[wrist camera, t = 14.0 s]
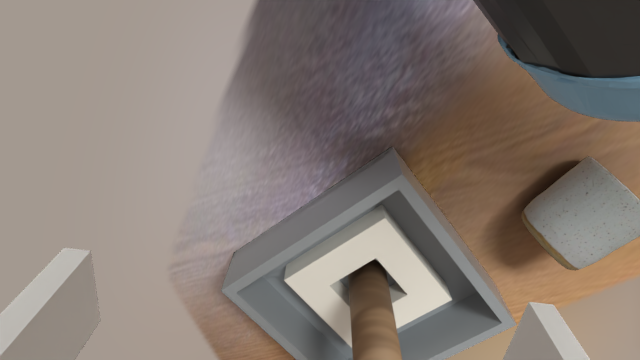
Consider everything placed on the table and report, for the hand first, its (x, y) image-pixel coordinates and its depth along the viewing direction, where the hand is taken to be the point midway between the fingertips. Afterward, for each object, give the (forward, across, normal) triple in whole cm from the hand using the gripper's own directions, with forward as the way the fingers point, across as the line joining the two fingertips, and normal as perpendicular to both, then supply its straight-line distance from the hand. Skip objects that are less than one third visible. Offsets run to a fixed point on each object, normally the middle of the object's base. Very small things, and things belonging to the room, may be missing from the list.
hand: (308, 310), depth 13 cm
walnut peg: (+26, +7, -18) cm, 32 cm away
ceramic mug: (+27, +26, -8) cm, 38 cm away
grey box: (+27, +7, -18) cm, 33 cm away
